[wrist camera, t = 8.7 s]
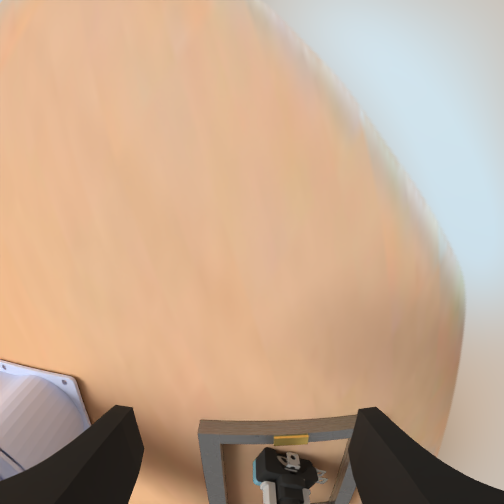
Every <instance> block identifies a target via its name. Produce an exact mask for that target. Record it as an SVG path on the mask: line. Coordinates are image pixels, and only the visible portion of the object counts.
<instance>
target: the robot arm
mask: <svg viewBox="0 0 504 504" xmlns="http://www.w3.org/2000/svg"><path fill="white" fill-rule="evenodd" d="M143 452H144V446H143V443H142V440H141V436H140V433H139V429H138V426H137V422H136V419H135V415H134V411H133V408H132V407H126V406H119V405H115V406H114V407H113V408H111V409H110V410H109V411H108V412H107V413H105V414H104V415H103V416H102V417H101V418H100V419H98V420H97V421H96V422H95V423H94V424H92V425H91V423H90V420H89V417H88V414H87V412H86V409H85V406H84V403H83V400H82V397H81V394H80V391H79V388H78V385H77V382H76V380H75V379H74V378H73V377H71V376H67V375H62V374H57V373H53V372H48V371H43V370H39V369H35V368H30V367H26V366H22V365H18V364H15V363H11V362H7V361H3V360H0V504H128V502H129V499H130V496H131V494H132V491H133V488H134V486H135V483H136V480H137V477H138V474H139V471H140V466H141V462H142V457H143ZM348 454H349V459H350V465H351V469H352V474H353V477H354V480H355V483H356V486H357V489H358V492H359V495H360V498H361V501H362V503H363V504H504V491H502V490H500V489H497V488H494V487H491V486H488V485H486V484H484V483H481V482H479V481H476V480H474V479H472V478H470V477H468V476H466V475H464V474H463V473H461V472H459V471H457V470H455V469H454V468H452V467H450V466H449V465H447V464H445V463H444V462H442V461H441V460H439V459H438V458H437V457H435V456H434V455H432V454H431V453H430V452H428V451H427V450H426V449H424V448H423V447H422V446H420V445H419V444H418V443H417V442H415V441H414V440H413V439H412V438H411V437H409V436H408V435H407V434H406V433H405V432H404V431H403V430H401V429H400V428H399V427H398V426H397V425H396V424H395V423H394V422H392V421H391V420H390V419H389V418H388V417H387V416H386V415H385V414H384V413H383V412H382V411H380V410H379V409H378V408H377V407H371V408H363V409H359V410H358V414H357V418H356V422H355V426H354V430H353V433H352V437H351V441H350V444H349V448H348Z"/></svg>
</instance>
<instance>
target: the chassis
mask: <svg viewBox="0 0 504 504" xmlns="http://www.w3.org/2000/svg"><path fill="white" fill-rule="evenodd" d="M356 418H357V415H353V416H344V417H334V418H323V419H309V420H291V421H212V420H200V424H199V429H198V439H199V446H200V452H201V459H202V465H203V471H204V477H205V482H206V488H207V493H208V499H209V504H228V498H227V488H226V478H225V468H224V456H223V445H222V444H274V446H284V445H303V444H308V442H316V441H327V440H337V439H345V438H349V439H348V442H347V446H346V449H345V453H344V456H343V460H342V463H341V466H340V469H339V473H338V476H337V479H336V482H335V485H334V488H333V491H332V494H331V497H330V500H329V502H322V503H313V504H349V502H350V500H351V497H352V495H353V493H354V490H355V488H356V483H355V480H354V477H353V474H352V469H351V465H350V459H349V454H348V448H349V444H350V441H351V437H352V433H353V430H354V426H355V422H356Z"/></svg>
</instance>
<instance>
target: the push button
mask: <svg viewBox="0 0 504 504" xmlns="http://www.w3.org/2000/svg"><path fill="white" fill-rule="evenodd" d="M286 454H287V455H283V454H279V453H276V451H275V450H274V449H272V448H268V447H266V448H265V449H264V450H263V451H262V452H261V453H260V455H259V456H258V457H257V458H256V459H255V460H254V462H253V482H254V484H256V485H259V486H260V489H261V490H263V504H310V499H309V495H310V494H311V492H310V490H309V488H310V487H312V486H313V485H314V484H315V483H320V484H324V483H325V482H326V481H327V480H328V478H322V477H319V476H323V475H324V474H325V473H326V471H323V470H318V469H317V468H315V467H313V465H312V462H311V461H308V460H304V459H299V456H298V455H297V454H296V453H291V452H287V453H286ZM291 456H294V457H291ZM318 472H322V473H321V474H317V473H318ZM319 480H323V481H321V482H320V481H319Z"/></svg>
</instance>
